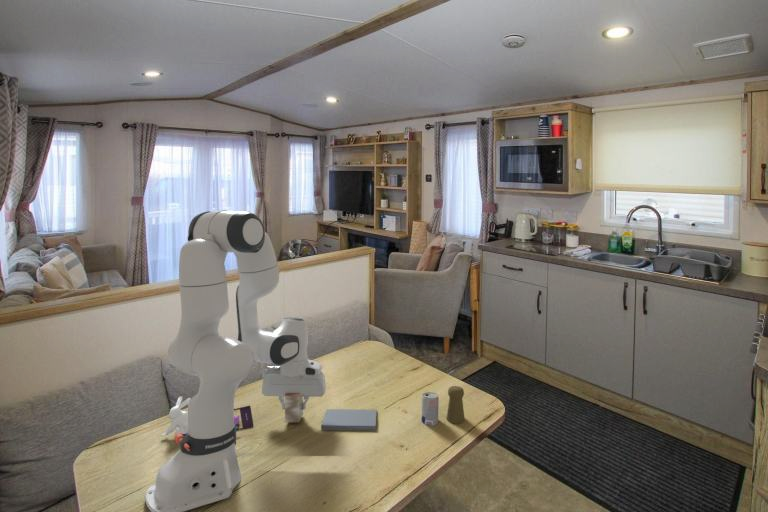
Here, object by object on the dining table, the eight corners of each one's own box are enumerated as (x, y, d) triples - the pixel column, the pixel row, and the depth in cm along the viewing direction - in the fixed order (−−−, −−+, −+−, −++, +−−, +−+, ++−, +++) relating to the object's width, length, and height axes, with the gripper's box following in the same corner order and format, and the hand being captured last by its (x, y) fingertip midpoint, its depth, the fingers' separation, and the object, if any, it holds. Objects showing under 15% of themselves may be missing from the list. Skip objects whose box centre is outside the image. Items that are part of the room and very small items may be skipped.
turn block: (285, 422, 135) (284, 394, 135) (289, 414, 141) (289, 387, 141) (299, 422, 135) (299, 394, 135) (302, 414, 141) (302, 387, 141)
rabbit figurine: (160, 436, 128) (159, 405, 128) (169, 425, 136) (168, 395, 135) (201, 434, 130) (200, 403, 129) (208, 423, 137) (207, 393, 137)
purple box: (253, 425, 134) (223, 432, 130) (252, 430, 138) (223, 437, 134) (250, 404, 137) (220, 411, 133) (249, 410, 141) (220, 416, 137)
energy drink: (427, 425, 143) (428, 390, 142) (441, 430, 139) (441, 394, 139) (418, 431, 138) (418, 395, 138) (432, 436, 135) (432, 399, 135)
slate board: (376, 413, 144) (376, 409, 144) (375, 430, 132) (375, 425, 132) (326, 413, 144) (326, 409, 144) (321, 430, 132) (321, 425, 132)
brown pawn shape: (445, 422, 138) (445, 389, 137) (447, 414, 144) (448, 383, 143) (463, 425, 136) (464, 391, 135) (465, 417, 142) (466, 385, 141)
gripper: (259, 369, 134) (259, 412, 135) (323, 370, 134) (323, 413, 135) (264, 363, 141) (265, 404, 141) (326, 364, 140) (326, 405, 141)
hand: (294, 408), depth 138 cm, fingers closed on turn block, 4 cm apart
